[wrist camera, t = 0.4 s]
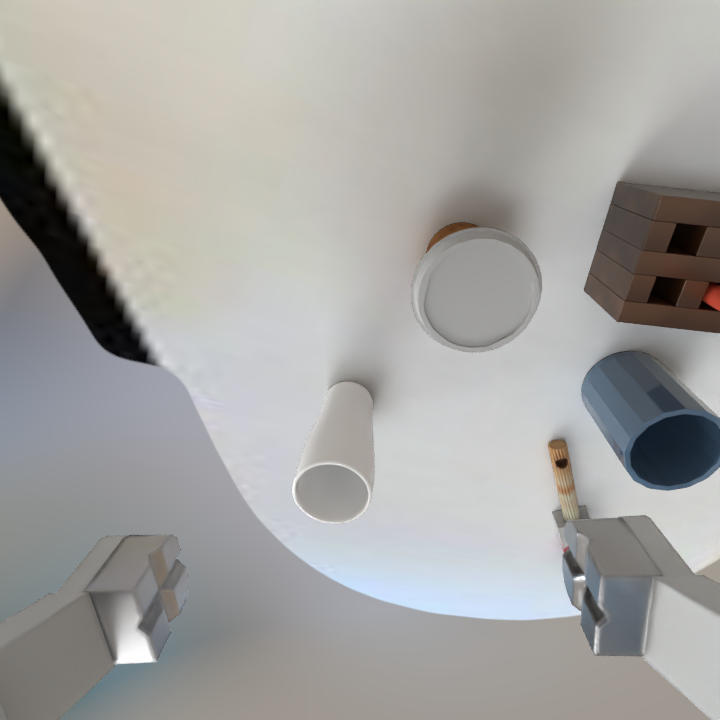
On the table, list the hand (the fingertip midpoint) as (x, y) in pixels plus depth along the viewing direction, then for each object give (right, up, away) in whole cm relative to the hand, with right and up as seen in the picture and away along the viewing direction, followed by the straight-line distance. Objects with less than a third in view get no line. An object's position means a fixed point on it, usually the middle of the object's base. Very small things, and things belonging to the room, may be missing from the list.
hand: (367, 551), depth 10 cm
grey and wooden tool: (+24, -13, +48) cm, 55 cm away
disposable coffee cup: (+9, +14, +36) cm, 40 cm away
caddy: (+28, +14, +34) cm, 46 cm away
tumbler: (+27, +1, +40) cm, 49 cm away
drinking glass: (-1, 0, +44) cm, 44 cm away
